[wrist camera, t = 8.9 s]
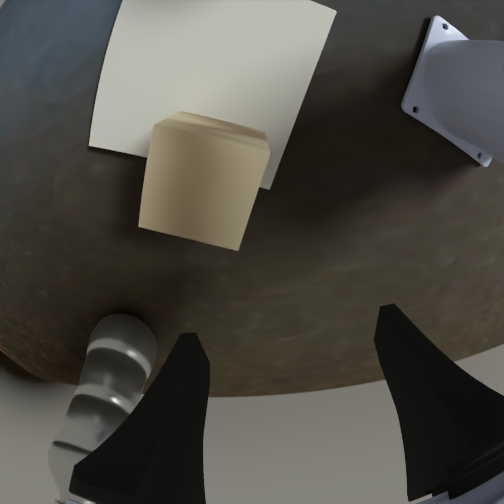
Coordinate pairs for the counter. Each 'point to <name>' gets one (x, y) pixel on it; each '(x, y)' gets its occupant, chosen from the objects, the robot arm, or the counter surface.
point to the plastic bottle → (102, 393)
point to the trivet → (208, 68)
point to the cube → (202, 178)
